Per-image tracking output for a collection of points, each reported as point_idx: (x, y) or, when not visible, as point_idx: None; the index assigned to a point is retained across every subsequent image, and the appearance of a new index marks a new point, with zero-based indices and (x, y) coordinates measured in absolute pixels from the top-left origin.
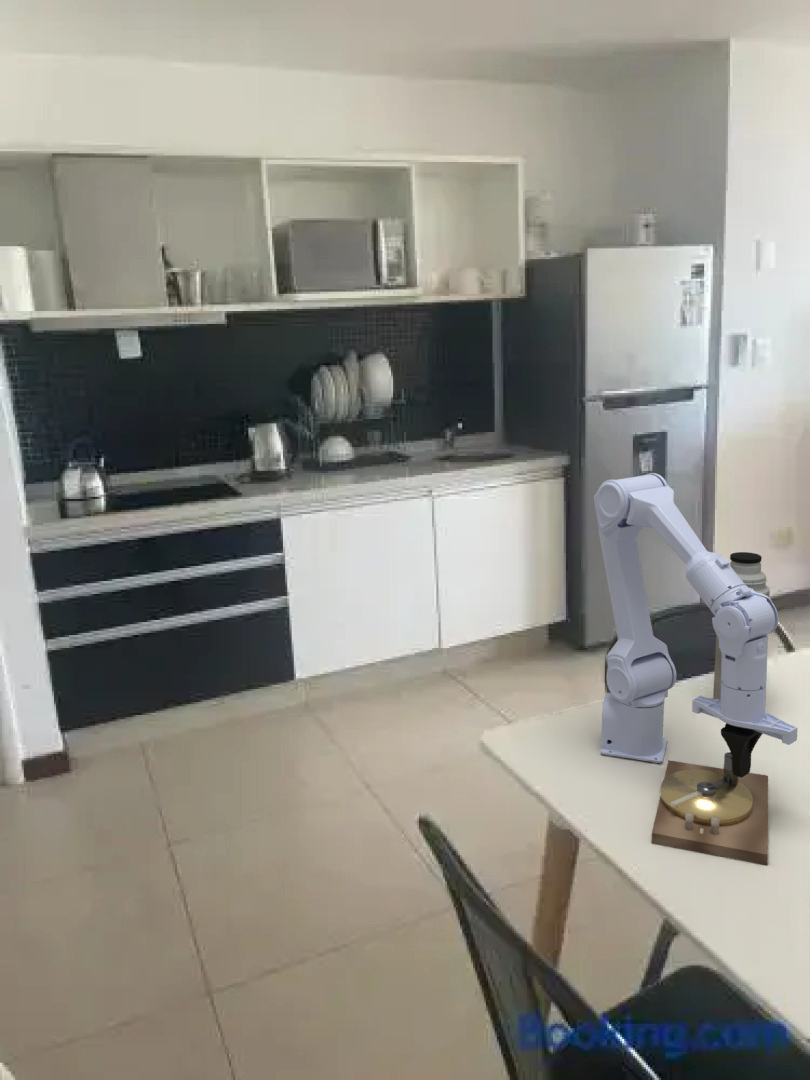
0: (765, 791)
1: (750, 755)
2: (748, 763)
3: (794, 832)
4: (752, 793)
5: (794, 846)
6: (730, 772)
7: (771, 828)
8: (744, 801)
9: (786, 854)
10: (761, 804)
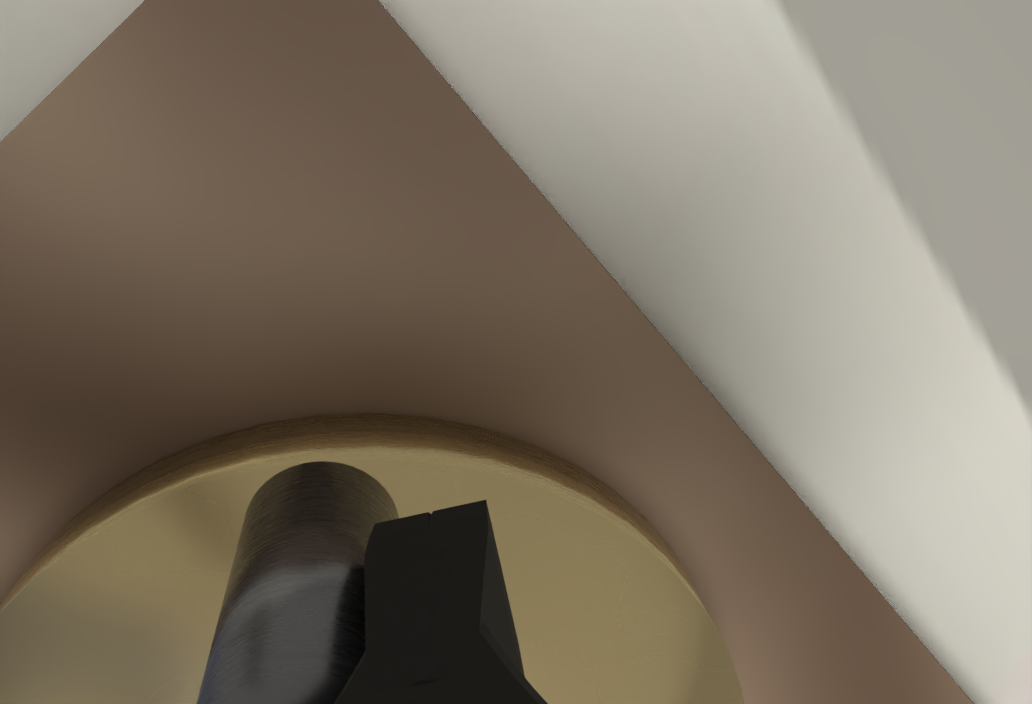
0: (510, 196)
1: (484, 620)
2: (498, 604)
3: (915, 327)
4: (468, 332)
5: (1000, 455)
6: None
7: (783, 432)
8: (654, 650)
9: (1008, 559)
10: (640, 397)
